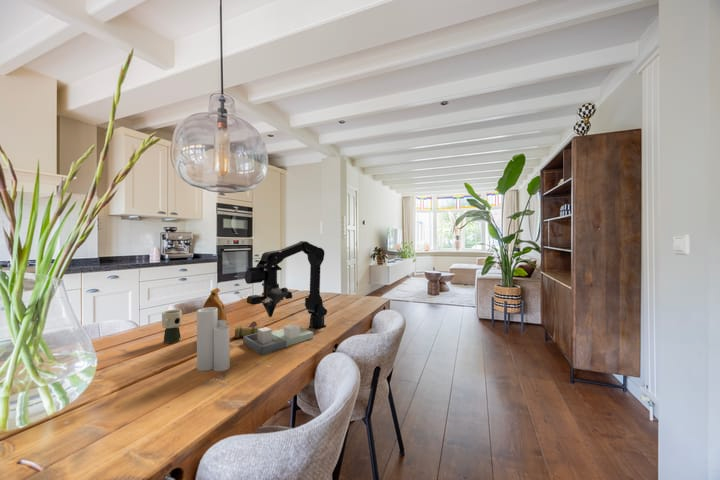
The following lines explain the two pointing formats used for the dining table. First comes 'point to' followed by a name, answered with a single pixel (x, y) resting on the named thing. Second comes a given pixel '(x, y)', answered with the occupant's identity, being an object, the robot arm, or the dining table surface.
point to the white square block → (264, 335)
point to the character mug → (171, 325)
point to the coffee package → (216, 304)
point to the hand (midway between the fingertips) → (270, 316)
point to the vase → (212, 341)
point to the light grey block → (292, 331)
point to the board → (304, 335)
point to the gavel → (246, 330)
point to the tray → (263, 344)
